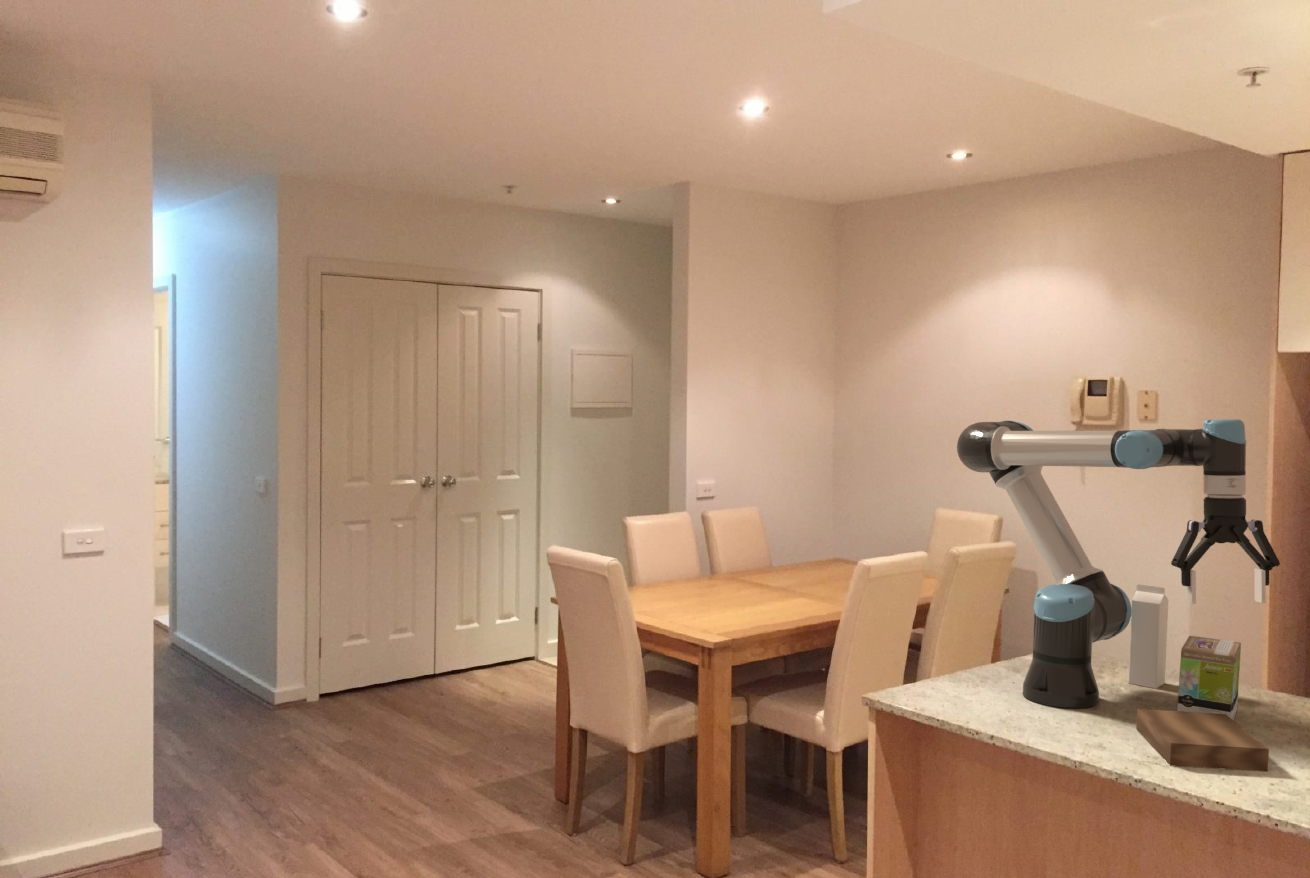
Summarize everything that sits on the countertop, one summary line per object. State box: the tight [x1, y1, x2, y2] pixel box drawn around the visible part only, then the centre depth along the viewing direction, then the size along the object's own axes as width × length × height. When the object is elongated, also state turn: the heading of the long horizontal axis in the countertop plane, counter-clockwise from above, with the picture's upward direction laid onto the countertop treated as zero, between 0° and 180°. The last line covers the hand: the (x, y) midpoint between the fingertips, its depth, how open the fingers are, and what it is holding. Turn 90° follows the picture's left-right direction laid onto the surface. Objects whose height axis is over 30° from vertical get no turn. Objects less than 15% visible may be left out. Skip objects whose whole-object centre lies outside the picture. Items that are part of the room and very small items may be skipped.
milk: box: [1128, 583, 1169, 689], centre depth 242 cm, size 6×6×22 cm
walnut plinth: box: [1136, 708, 1270, 773], centre depth 198 cm, size 16×20×4 cm
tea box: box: [1176, 635, 1242, 721], centre depth 219 cm, size 15×10×15 cm, turn 148°
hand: (1225, 602), depth 217 cm, fingers open, 13 cm apart
